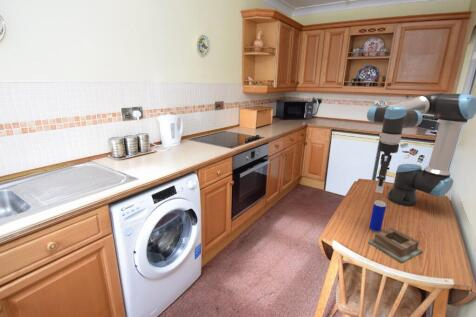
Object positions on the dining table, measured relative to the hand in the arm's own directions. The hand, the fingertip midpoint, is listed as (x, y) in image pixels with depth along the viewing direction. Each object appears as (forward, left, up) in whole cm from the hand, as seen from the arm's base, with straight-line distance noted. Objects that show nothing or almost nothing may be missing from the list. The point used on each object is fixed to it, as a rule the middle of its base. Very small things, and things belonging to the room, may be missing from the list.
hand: (380, 187), depth 115 cm
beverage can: (-3, 0, -24) cm, 24 cm away
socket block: (+2, +13, -24) cm, 27 cm away
